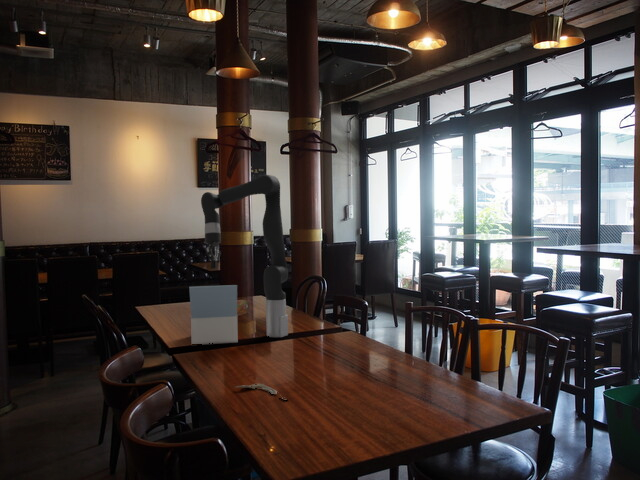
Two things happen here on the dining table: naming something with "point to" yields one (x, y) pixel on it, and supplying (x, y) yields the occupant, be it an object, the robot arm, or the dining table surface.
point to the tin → (242, 307)
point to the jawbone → (261, 388)
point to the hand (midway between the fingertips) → (214, 268)
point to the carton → (214, 330)
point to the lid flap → (213, 301)
